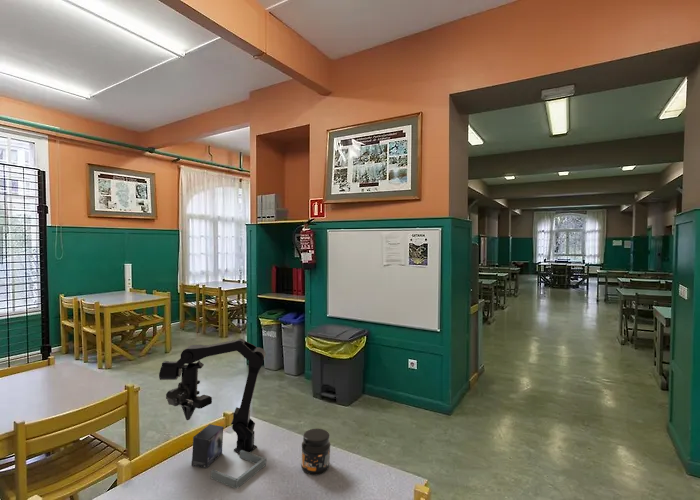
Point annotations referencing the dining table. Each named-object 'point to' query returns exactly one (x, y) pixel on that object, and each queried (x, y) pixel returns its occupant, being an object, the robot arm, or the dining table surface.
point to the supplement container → (315, 451)
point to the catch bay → (245, 476)
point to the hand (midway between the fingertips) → (188, 419)
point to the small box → (207, 446)
